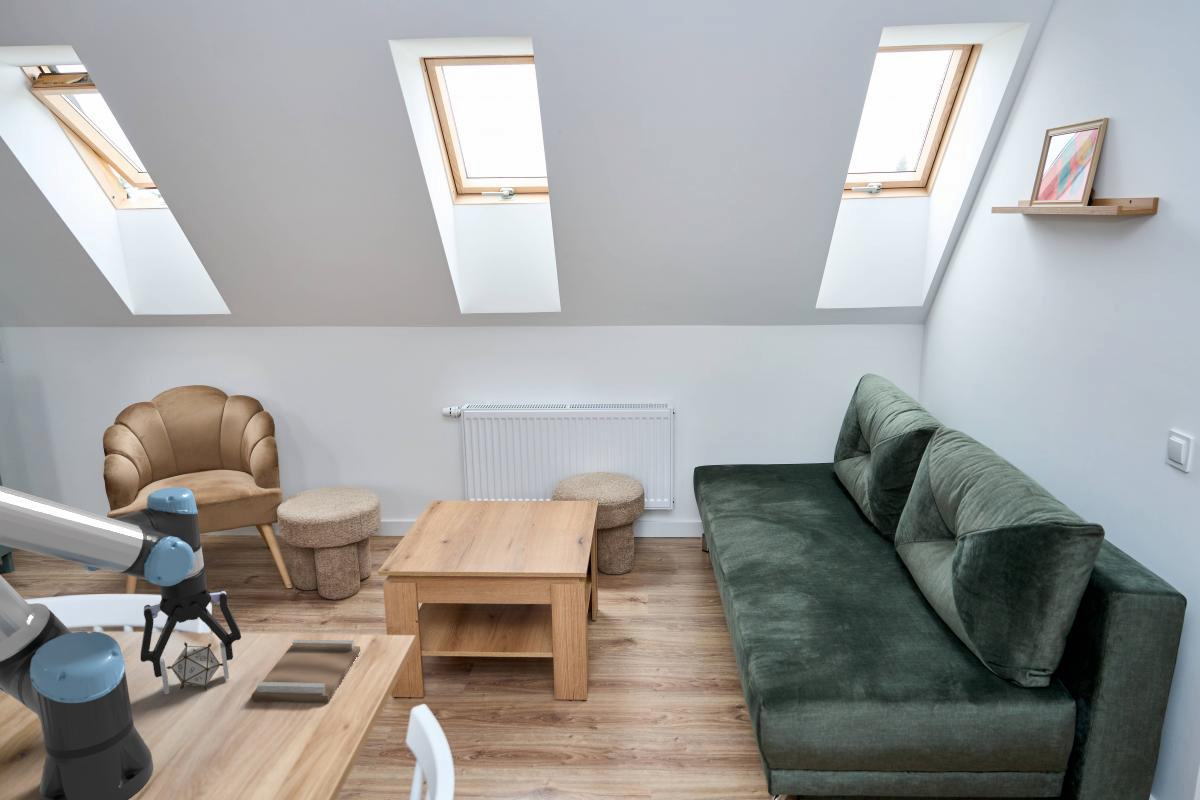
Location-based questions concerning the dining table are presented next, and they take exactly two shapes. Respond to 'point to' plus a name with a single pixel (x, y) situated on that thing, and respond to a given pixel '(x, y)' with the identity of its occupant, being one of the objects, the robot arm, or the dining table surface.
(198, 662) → the game die
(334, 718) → the dining table surface
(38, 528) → the robot arm
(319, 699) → the loading pallet
